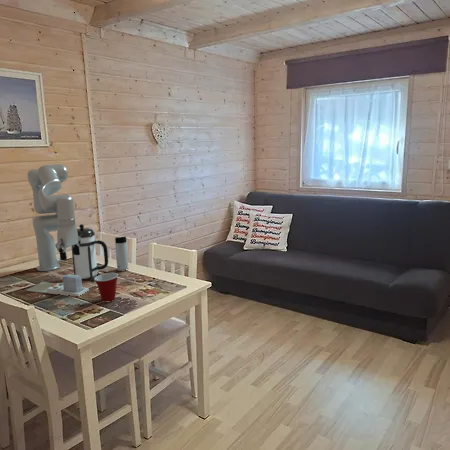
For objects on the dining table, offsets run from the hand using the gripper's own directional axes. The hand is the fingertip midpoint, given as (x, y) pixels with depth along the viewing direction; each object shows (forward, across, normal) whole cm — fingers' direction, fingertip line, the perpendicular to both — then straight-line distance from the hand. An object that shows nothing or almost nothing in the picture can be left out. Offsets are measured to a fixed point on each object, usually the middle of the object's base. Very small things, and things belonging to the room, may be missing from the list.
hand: (70, 257), depth 193 cm
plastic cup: (+19, +4, +21) cm, 29 cm away
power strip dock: (+18, 0, -4) cm, 18 cm away
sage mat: (+18, -2, -20) cm, 27 cm away
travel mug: (+18, -38, +4) cm, 43 cm away
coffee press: (+18, -21, -7) cm, 29 cm away
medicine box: (+18, 0, -1) cm, 18 cm away
